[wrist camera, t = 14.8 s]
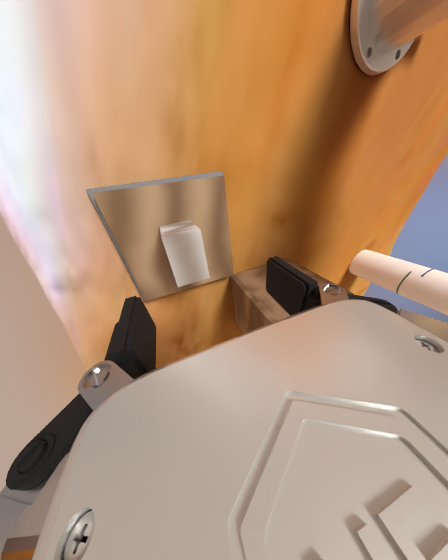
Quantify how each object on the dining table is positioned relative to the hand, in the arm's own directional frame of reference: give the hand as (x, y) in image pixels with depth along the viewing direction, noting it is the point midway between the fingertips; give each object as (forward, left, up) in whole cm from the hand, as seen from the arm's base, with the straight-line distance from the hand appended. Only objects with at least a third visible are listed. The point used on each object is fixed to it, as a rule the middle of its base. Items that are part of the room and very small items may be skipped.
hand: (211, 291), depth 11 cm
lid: (0, 0, -15) cm, 15 cm away
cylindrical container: (-45, +17, -15) cm, 51 cm away
